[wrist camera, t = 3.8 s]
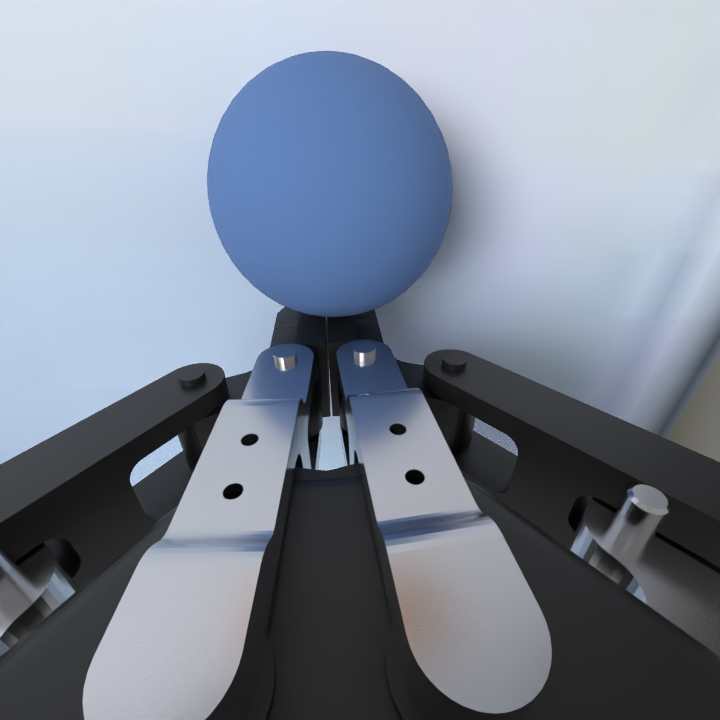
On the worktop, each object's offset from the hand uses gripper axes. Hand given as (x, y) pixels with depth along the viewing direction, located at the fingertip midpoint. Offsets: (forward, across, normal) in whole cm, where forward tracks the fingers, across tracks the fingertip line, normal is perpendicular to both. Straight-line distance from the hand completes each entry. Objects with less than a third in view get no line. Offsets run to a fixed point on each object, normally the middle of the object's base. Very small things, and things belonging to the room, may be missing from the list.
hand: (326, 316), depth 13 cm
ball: (-2, 0, -4) cm, 4 cm away
